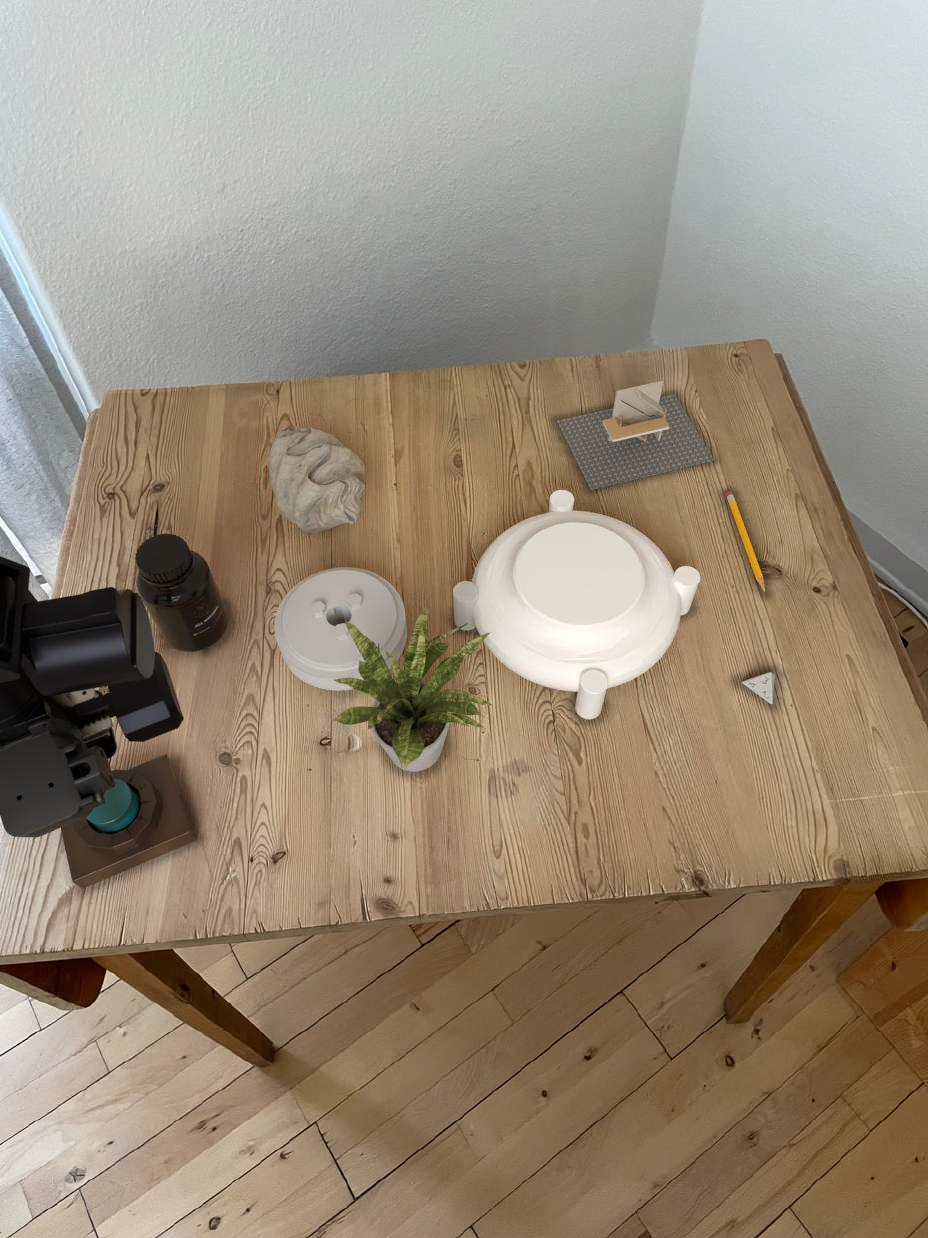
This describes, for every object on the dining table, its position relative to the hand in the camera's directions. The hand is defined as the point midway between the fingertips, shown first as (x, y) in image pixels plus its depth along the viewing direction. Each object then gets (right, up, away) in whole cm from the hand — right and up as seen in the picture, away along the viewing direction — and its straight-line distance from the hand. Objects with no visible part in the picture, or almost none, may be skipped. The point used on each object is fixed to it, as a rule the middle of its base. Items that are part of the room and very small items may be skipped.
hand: (86, 780), depth 69 cm
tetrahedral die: (+58, +6, +15) cm, 60 cm away
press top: (0, -4, +5) cm, 6 cm away
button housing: (0, -5, +8) cm, 10 cm away
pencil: (+60, +21, +25) cm, 68 cm away
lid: (+18, +11, +19) cm, 28 cm away
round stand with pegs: (+41, +13, +20) cm, 47 cm away
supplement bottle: (+3, +12, +20) cm, 23 cm away
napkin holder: (+49, +33, +33) cm, 68 cm away
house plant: (+26, 0, +12) cm, 28 cm away
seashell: (+14, +25, +28) cm, 40 cm away
